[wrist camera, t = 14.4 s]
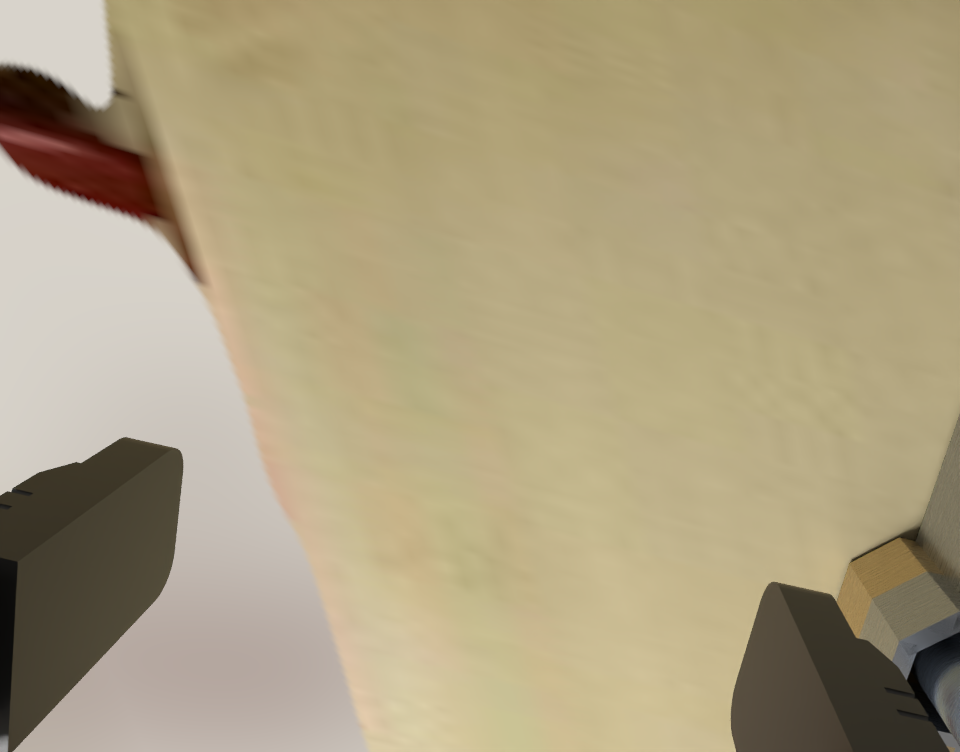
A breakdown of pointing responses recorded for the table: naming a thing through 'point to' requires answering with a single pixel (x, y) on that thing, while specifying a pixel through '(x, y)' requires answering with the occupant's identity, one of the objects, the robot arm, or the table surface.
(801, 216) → the table surface
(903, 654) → the hinge
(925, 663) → the pin
